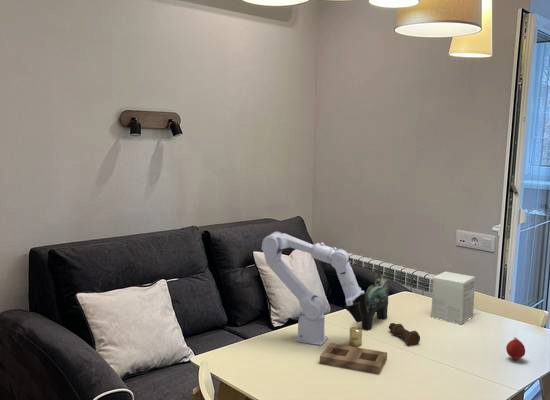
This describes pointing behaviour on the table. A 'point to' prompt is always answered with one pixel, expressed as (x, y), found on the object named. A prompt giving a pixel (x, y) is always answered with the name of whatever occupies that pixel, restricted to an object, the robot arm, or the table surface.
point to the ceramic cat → (376, 302)
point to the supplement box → (453, 297)
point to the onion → (515, 349)
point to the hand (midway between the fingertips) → (362, 317)
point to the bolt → (405, 334)
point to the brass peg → (355, 337)
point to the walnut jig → (354, 358)
